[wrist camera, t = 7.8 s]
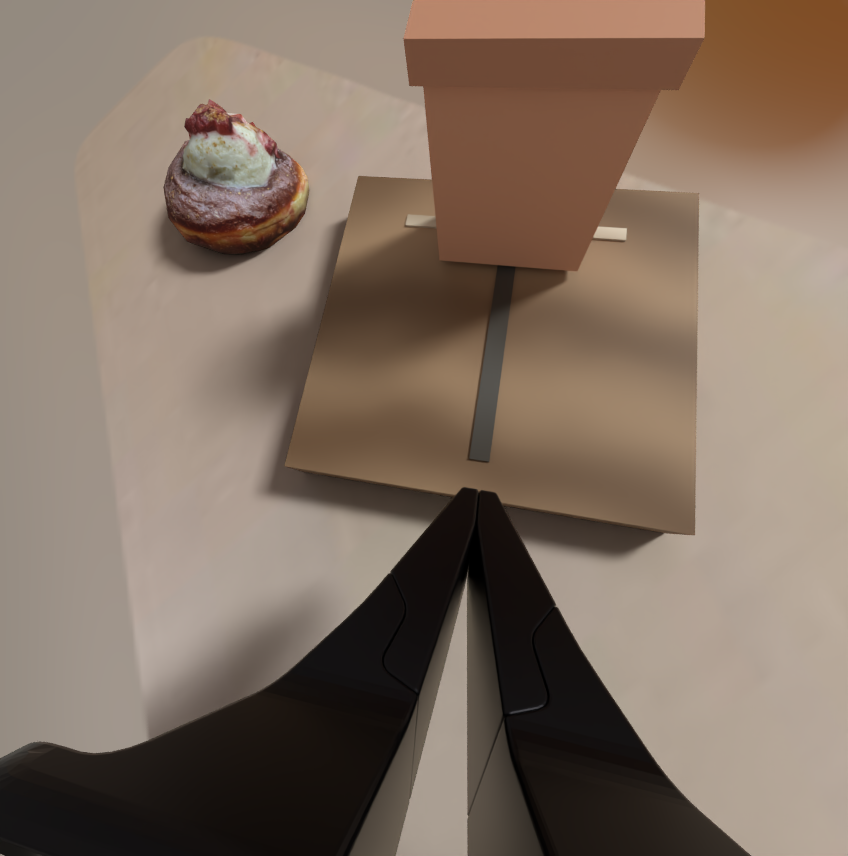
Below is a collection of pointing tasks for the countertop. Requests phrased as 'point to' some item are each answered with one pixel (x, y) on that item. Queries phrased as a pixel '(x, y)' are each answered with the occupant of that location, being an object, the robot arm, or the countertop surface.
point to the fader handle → (538, 114)
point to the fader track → (512, 364)
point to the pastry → (233, 185)
